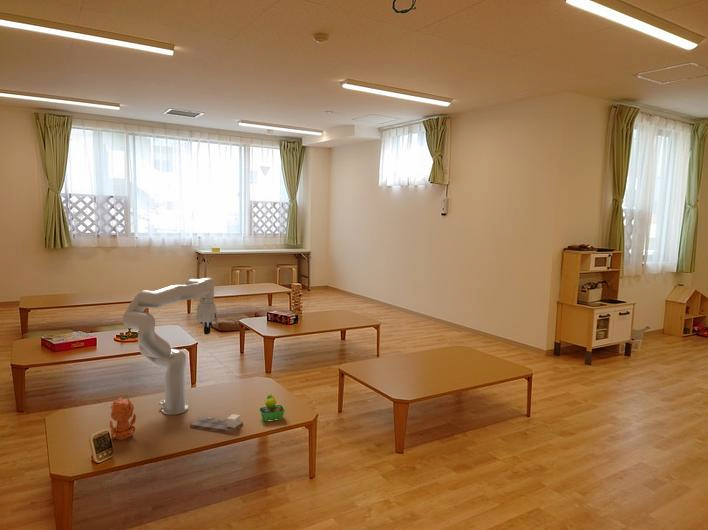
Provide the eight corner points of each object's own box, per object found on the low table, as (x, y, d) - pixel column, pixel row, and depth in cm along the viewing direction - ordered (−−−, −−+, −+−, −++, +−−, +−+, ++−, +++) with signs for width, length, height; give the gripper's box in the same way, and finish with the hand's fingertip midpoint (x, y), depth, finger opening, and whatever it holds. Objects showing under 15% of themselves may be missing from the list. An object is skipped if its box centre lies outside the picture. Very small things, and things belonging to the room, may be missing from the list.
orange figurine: (129, 428, 220) (128, 391, 218) (140, 435, 213) (139, 397, 211) (104, 437, 211) (103, 398, 209) (115, 444, 204) (114, 404, 202)
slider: (227, 426, 220) (226, 418, 219) (232, 422, 225) (232, 414, 224) (234, 427, 219) (234, 419, 218) (240, 423, 224) (240, 415, 223)
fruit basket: (262, 423, 228) (262, 401, 227) (258, 416, 236) (258, 394, 235) (285, 420, 232) (285, 398, 231) (281, 413, 240) (281, 391, 239)
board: (190, 427, 222) (190, 423, 222) (202, 418, 232) (202, 415, 232) (232, 433, 217) (232, 430, 216) (242, 424, 226) (242, 421, 226)
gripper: (190, 301, 255) (191, 334, 256) (215, 302, 251) (215, 336, 253) (198, 298, 262) (199, 331, 264) (222, 300, 258) (223, 333, 260)
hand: (207, 333), depth 258 cm, fingers closed
